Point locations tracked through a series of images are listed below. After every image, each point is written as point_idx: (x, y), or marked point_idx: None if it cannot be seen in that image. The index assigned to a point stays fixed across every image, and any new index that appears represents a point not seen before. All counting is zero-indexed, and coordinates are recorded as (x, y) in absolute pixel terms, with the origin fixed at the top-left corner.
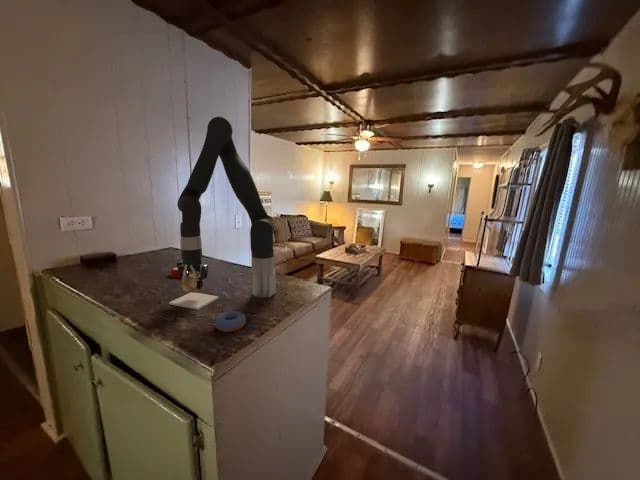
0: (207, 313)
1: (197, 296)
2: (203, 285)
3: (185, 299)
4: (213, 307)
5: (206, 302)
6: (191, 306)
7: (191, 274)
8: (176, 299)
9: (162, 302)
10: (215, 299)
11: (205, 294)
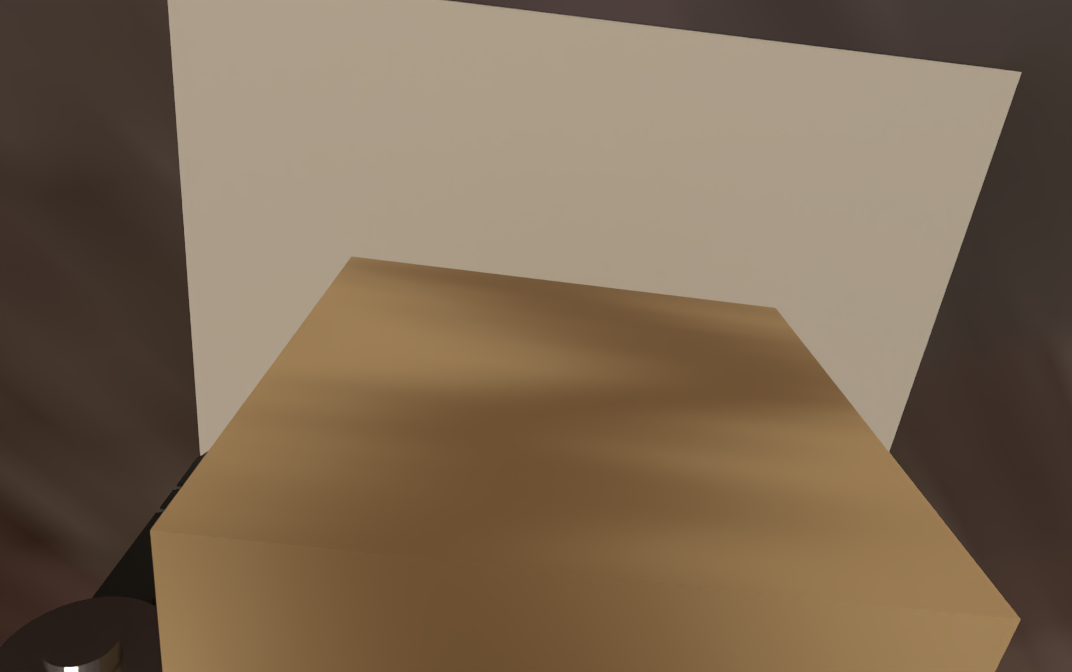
0: (1013, 657)
1: (514, 205)
2: (799, 366)
3: None
4: (1035, 481)
5: (873, 427)
6: None
7: (209, 659)
8: (216, 437)
9: (45, 505)
10: (963, 190)
11: (628, 39)
